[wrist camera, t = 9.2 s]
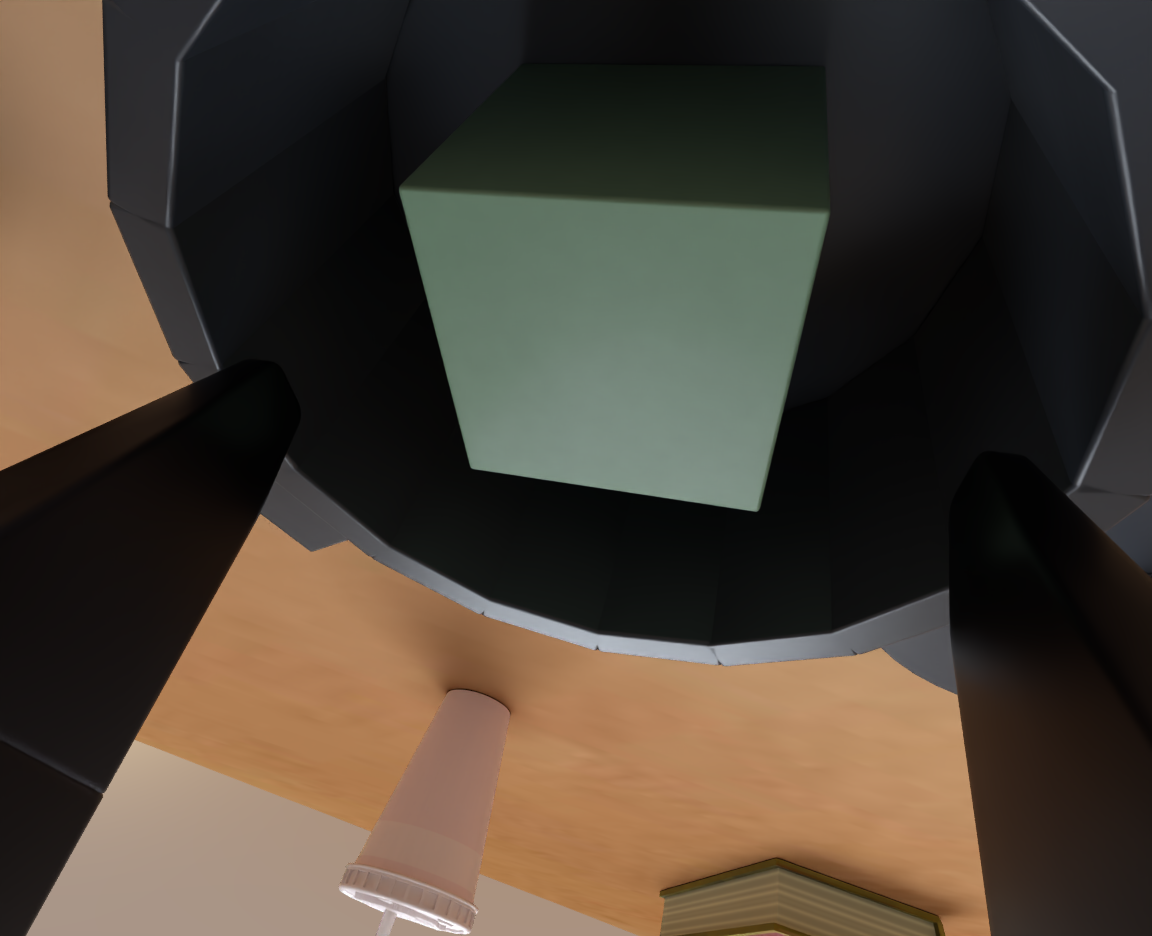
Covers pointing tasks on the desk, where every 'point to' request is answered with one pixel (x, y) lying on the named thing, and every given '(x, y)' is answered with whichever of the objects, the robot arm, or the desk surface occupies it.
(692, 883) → the hardcover book
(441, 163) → the block
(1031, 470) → the robot arm
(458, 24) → the pot
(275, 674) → the desk surface
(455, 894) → the smoothie
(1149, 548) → the lid
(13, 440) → the desk surface
